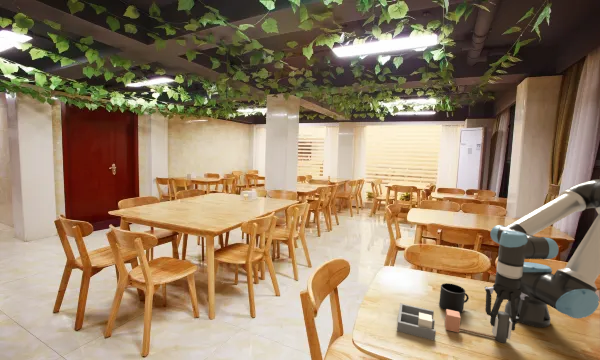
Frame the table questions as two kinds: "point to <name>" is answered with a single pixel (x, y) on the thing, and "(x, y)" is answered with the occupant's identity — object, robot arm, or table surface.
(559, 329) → the table surface
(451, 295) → the mug
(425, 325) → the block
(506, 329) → the block
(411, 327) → the lane shelf
